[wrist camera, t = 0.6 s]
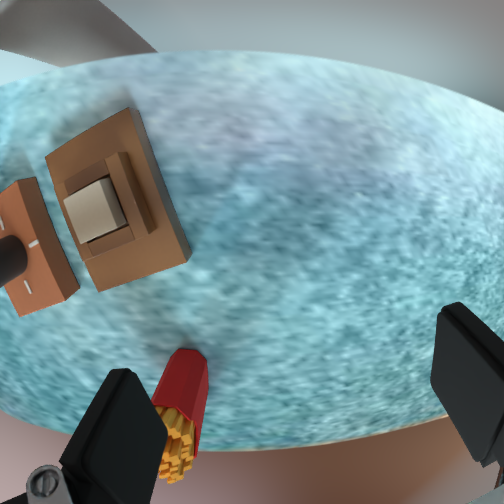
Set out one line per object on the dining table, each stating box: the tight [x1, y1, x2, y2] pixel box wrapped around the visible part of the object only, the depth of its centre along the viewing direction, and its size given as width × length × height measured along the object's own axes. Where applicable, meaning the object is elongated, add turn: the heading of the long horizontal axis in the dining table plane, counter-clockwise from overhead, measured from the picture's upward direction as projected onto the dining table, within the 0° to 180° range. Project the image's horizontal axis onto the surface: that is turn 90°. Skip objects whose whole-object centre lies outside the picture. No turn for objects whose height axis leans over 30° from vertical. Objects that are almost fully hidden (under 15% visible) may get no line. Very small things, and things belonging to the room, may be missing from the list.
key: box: [63, 178, 126, 244], centre depth 21 cm, size 4×4×2 cm
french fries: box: [151, 349, 208, 484], centre depth 24 cm, size 8×4×12 cm, turn 178°
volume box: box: [0, 177, 80, 317], centre depth 25 cm, size 12×8×3 cm
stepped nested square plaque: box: [45, 107, 192, 292], centre depth 23 cm, size 13×9×4 cm
